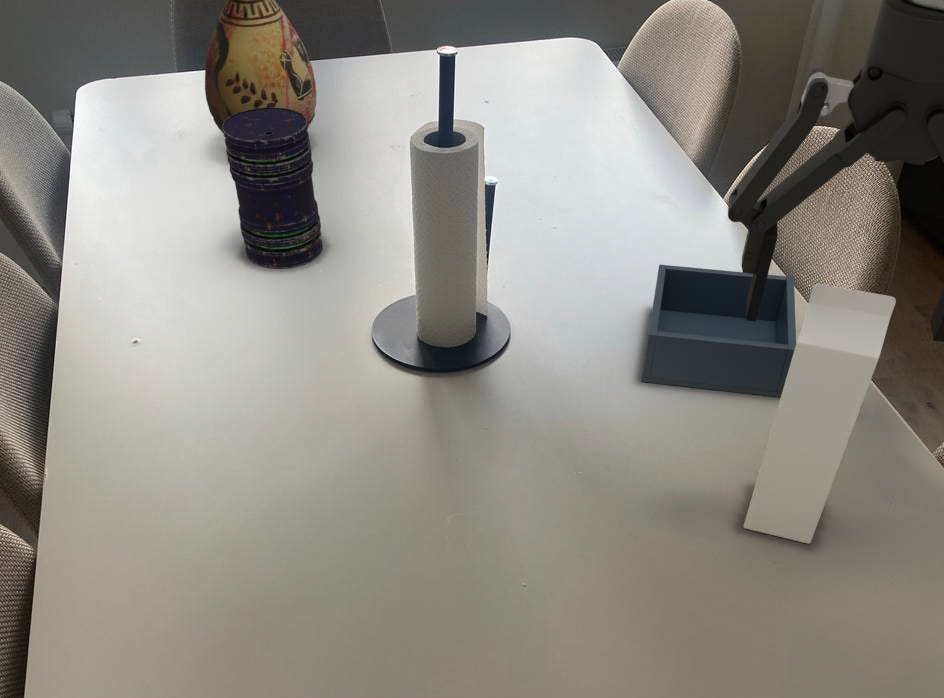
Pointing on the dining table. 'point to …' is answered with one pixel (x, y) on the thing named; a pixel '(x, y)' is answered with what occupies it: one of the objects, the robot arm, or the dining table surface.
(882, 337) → the tall white rectangular prism
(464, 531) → the dining table surface
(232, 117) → the dark blue cylinder
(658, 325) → the tote
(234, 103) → the ceramic jug
